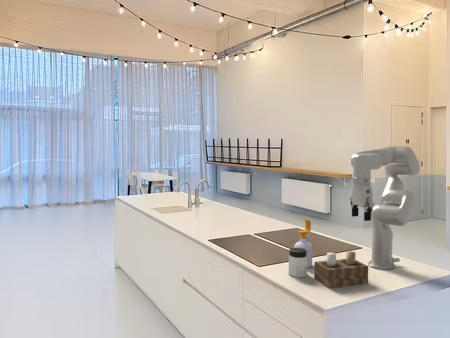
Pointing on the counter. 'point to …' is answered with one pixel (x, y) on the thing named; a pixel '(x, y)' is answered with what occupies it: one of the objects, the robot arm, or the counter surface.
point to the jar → (297, 262)
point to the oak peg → (350, 257)
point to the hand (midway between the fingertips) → (361, 218)
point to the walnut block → (341, 273)
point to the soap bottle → (305, 242)
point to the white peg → (331, 259)
